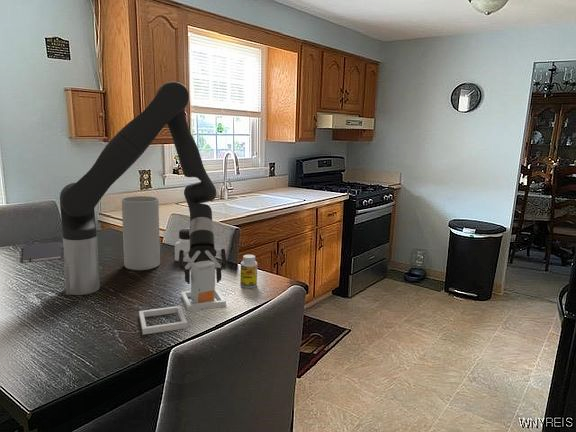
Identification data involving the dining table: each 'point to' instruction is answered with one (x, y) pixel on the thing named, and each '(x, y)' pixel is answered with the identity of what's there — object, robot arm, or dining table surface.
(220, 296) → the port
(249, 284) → the supplement bottle
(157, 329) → the frame
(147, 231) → the cylinder vase
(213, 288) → the skincare box
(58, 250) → the notebook
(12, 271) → the dining table surface
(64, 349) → the dining table surface
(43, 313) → the dining table surface
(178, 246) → the medicine bottle
